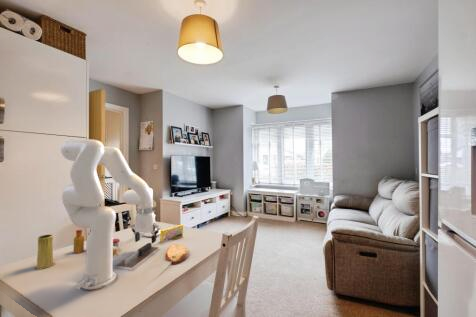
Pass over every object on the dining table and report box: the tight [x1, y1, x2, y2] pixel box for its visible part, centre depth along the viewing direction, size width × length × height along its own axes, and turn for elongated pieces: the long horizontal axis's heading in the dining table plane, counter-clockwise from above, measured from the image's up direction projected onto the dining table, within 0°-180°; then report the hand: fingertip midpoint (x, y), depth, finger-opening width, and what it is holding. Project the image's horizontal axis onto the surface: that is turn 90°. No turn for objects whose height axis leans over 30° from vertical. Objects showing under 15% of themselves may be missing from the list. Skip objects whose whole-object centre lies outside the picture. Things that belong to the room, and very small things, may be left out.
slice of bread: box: [165, 243, 189, 265], centre depth 119 cm, size 18×18×4 cm
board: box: [115, 246, 159, 269], centre depth 115 cm, size 24×9×1 cm, turn 171°
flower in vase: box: [142, 199, 161, 238], centre depth 150 cm, size 13×11×25 cm
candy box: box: [159, 224, 184, 243], centre depth 141 cm, size 16×2×8 cm, turn 143°
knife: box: [124, 242, 153, 266], centre depth 114 cm, size 21×2×3 cm, turn 171°
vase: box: [35, 234, 54, 270], centre depth 105 cm, size 6×6×14 cm
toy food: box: [72, 229, 121, 256], centre depth 122 cm, size 27×13×12 cm, turn 73°
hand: (145, 241), depth 120 cm, fingers open, 9 cm apart
